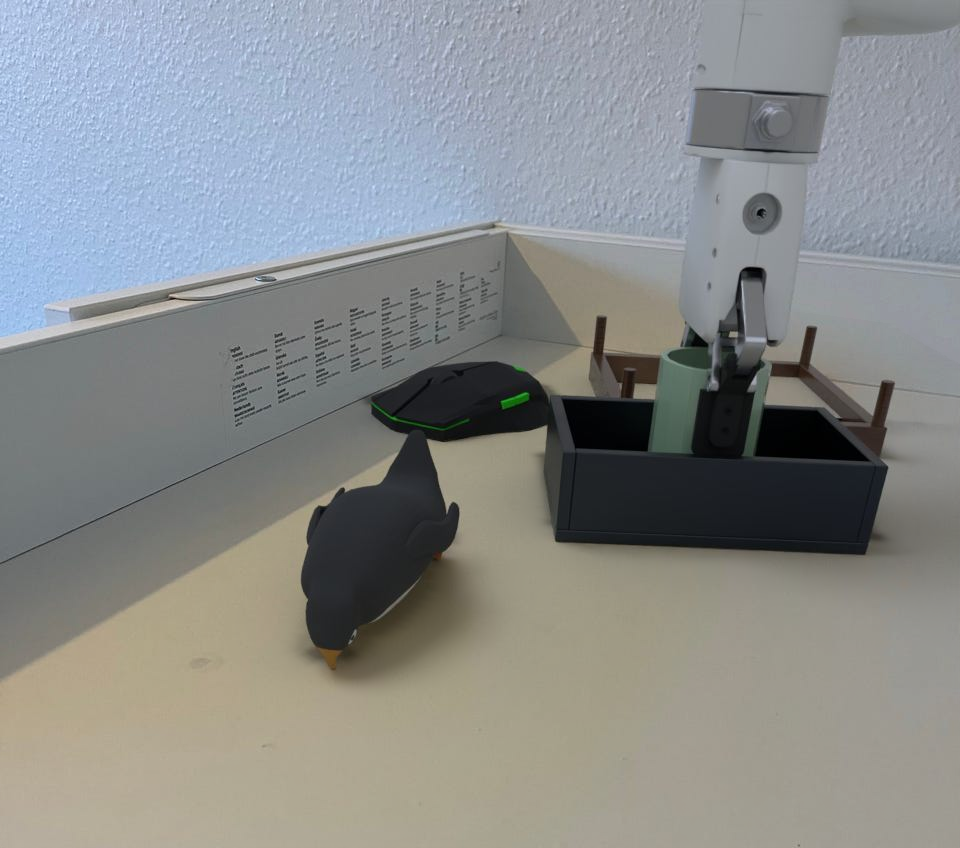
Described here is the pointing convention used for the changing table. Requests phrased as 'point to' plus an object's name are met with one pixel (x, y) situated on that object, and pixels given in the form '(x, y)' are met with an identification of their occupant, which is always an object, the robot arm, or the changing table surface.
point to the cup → (693, 400)
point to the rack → (854, 417)
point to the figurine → (373, 547)
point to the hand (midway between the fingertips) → (704, 433)
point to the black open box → (709, 482)
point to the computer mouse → (464, 401)
